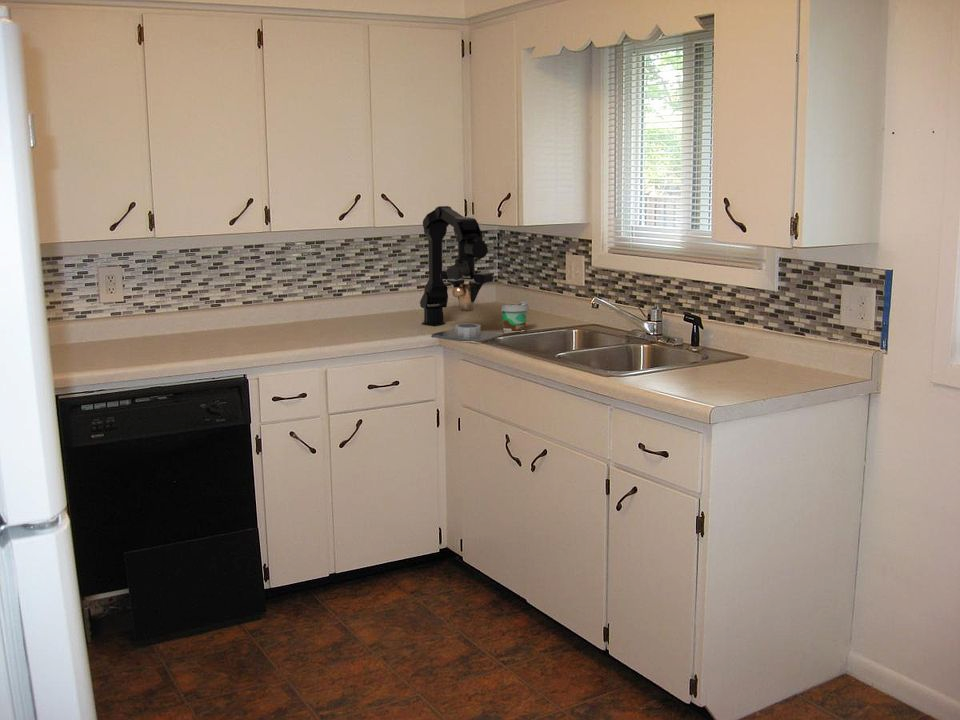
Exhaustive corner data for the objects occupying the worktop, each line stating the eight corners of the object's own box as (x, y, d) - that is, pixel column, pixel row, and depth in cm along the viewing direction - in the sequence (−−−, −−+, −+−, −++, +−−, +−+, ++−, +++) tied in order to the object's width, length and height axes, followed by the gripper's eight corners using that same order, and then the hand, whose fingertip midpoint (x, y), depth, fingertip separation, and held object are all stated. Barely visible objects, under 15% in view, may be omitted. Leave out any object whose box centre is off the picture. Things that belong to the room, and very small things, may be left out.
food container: (515, 335, 346) (515, 307, 344) (501, 333, 350) (501, 305, 348) (535, 330, 356) (535, 302, 354) (521, 328, 359) (521, 300, 357)
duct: (431, 336, 342) (431, 325, 342) (458, 330, 354) (458, 319, 353) (478, 344, 331) (478, 332, 330) (504, 337, 343) (504, 325, 342)
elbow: (450, 311, 338) (450, 285, 336) (465, 308, 344) (464, 282, 342) (462, 313, 335) (462, 286, 333) (476, 310, 341) (476, 283, 339)
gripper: (429, 256, 336) (430, 301, 339) (473, 259, 325) (473, 306, 328) (450, 253, 345) (450, 298, 348) (494, 256, 334) (493, 302, 337)
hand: (466, 301), depth 340 cm, fingers closed on elbow, 5 cm apart
